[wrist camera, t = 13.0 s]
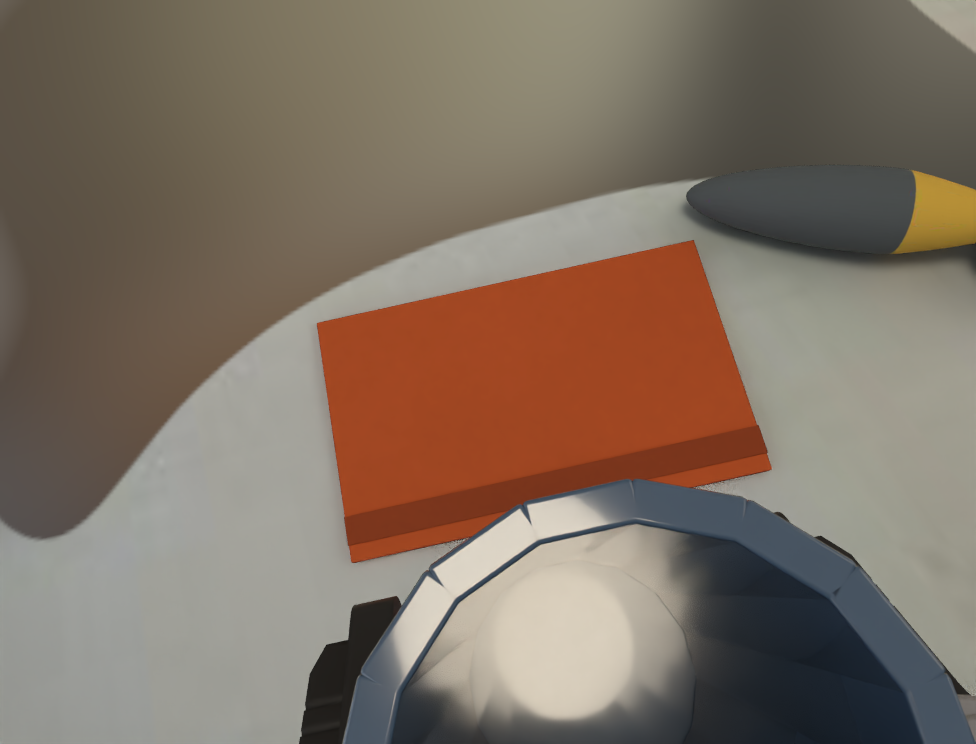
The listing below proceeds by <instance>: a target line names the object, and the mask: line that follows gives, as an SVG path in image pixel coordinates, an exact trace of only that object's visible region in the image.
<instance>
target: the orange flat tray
mask: <svg viewBox="0 0 976 744" xmlns="http://www.w3.org/2000/svg"><path fill="white" fill-rule="evenodd" d="M317 328H318V335H319V342H320V349H321V355H322V362H323V369H324V376H325V383H326V390H327V397H328V404H329V411H330V417H331V424H332V431H333V438H334V445H335V452H336V459H337V466H338V473H339V479H340V486H341V493H342V500H343V507H344V514H345V517H344V520H345V527H346V534H347V541H348V546H349V548H350V555H351V562H352V563H356V562H360V561H365V560H369V559H374V558H378V557H383V556H387V555H392V554H396V553H401V552H405V551H410V550H414V549H419V548H423V547H428V546H432V545H437V544H441V543H446V542H450V541H455V540H459V539H464V538H468V537H471V536H473V535H474V534H476V533H477V532H478V531H480V530H481V529H483V528H484V527H485V526H487V525H488V524H490V523H491V522H493V521H494V520H495V519H497V518H498V517H500V516H501V515H503V514H504V513H505V512H507V511H508V510H510V509H511V508H513V507H514V506H515V505H517V504H522V505H523V502H525V501H526V500H530V499H535V498H539V497H544V496H548V495H553V494H558V493H562V492H567V491H571V490H576V489H580V488H585V487H590V486H594V485H599V484H603V483H608V482H612V481H617V480H622V479H626V478H627V479H631V480H633V479H636V478H639V479H645V480H650V481H656V482H662V483H667V484H673V485H679V486H684V487H690V488H693V487H697V486H702V485H706V484H711V483H715V482H720V481H724V480H729V479H733V478H738V477H742V476H747V475H751V474H756V473H760V472H765V471H769V470H771V469H772V468H771V465H770V462H769V459H768V456H767V449H766V446H765V443H764V440H763V437H762V434H761V431H760V428H759V425H757V424H756V421H755V418H754V415H753V412H752V409H751V406H750V403H749V400H748V397H747V395H746V392H745V389H744V386H743V383H742V380H741V377H740V374H739V371H738V368H737V365H736V362H735V360H734V357H733V354H732V351H731V348H730V345H729V342H728V339H727V336H726V333H725V330H724V327H723V324H722V322H721V319H720V316H719V313H718V310H717V307H716V304H715V301H714V298H713V295H712V292H711V289H710V286H709V284H708V281H707V278H706V275H705V272H704V269H703V266H702V263H701V260H700V257H699V254H698V251H697V249H696V246H695V243H694V240H692V241H687V242H683V243H678V244H673V245H669V246H664V247H660V248H655V249H651V250H646V251H642V252H637V253H633V254H628V255H624V256H619V257H614V258H610V259H605V260H601V261H596V262H592V263H587V264H583V265H578V266H574V267H569V268H565V269H560V270H555V271H551V272H546V273H542V274H537V275H533V276H528V277H524V278H519V279H515V280H510V281H506V282H501V283H496V284H492V285H487V286H483V287H478V288H474V289H469V290H465V291H460V292H456V293H451V294H447V295H442V296H437V297H433V298H428V299H424V300H419V301H415V302H410V303H406V304H401V305H397V306H392V307H388V308H383V309H378V310H374V311H369V312H365V313H360V314H356V315H351V316H347V317H342V318H338V319H333V320H329V321H324V322H319V323H317Z"/></svg>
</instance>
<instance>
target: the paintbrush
mask: <svg viewBox="0 0 976 744" xmlns="http://www.w3.org/2000/svg"><path fill="white" fill-rule="evenodd" d="M686 198H687V201H688V202H689V204H690V205H691V206H692V207H693V208H695V209H696V210H697V211H699V212H700V213H702V214H704V215H706V216H707V217H709V218H711V219H714V220H716V221H718V222H721V223H723V224H726V225H729V226H732V227H735V228H738V229H741V230H744V231H748V232H751V233H755V234H759V235H763V236H767V237H771V238H775V239H779V240H783V241H789V242H794V243H799V244H804V245H809V246H815V247H822V248H828V249H835V250H843V251H852V252H861V253H874V254H899V253H908V252H918V251H926V250H934V249H942V248H949V247H956V246H962V245H968V244H974V243H976V190H974V189H971V188H969V187H966V186H963V185H959V184H957V183H954V182H951V181H948V180H944V179H941V178H938V177H935V176H931V175H928V174H925V173H921V172H918V171H913V170H909V169H902V168H892V167H880V166H879V167H878V166H861V165H810V166H789V167H777V168H766V169H757V170H750V171H742V172H737V173H731V174H726V175H722V176H718V177H715V178H711V179H708V180H706V181H703V182H701V183H699V184H697V185H695V186H694V187H692V188H691V189H690V190H689V191H688V192H687V195H686Z"/></svg>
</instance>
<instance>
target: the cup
mask: <svg viewBox="0 0 976 744" xmlns="http://www.w3.org/2000/svg"><path fill="white" fill-rule="evenodd" d="M945 671H946V670H945V668H944V666H943V665H942V664H941V663H940V661H939V660H938V659H937V658H936V657H935V655H934V654H933V653H932V652H931V651H930V649H929V648H928V647H927V646H926V645H925V643H924V642H923V641H922V640H921V639H920V637H919V636H918V635H917V634H916V633H915V631H914V630H913V629H912V628H911V627H910V625H909V624H908V623H907V622H906V621H905V619H904V618H903V617H902V616H901V615H900V613H899V612H898V611H897V610H896V609H895V607H894V606H893V605H892V604H891V603H890V601H889V600H888V599H887V598H886V597H885V595H884V594H883V593H882V592H881V591H880V589H879V588H878V587H877V586H876V585H875V583H874V582H873V581H872V580H871V579H870V577H869V576H868V575H867V574H866V573H865V571H864V570H863V569H862V568H861V567H859V566H856V564H855V563H854V561H853V560H851V559H850V558H848V557H846V556H845V555H843V554H841V553H840V552H838V551H836V550H835V549H833V548H831V547H830V546H828V545H826V544H825V543H823V542H821V541H820V540H818V539H816V538H815V537H813V536H811V535H810V534H808V533H806V532H804V531H803V530H801V529H799V528H798V527H796V526H794V525H793V524H791V523H789V522H788V521H786V520H784V519H783V518H781V517H779V516H778V515H776V514H774V513H773V512H771V511H769V510H768V509H766V508H764V507H763V506H761V505H759V504H758V503H756V502H754V501H751V500H748V501H747V500H746V499H745V498H743V497H741V496H735V495H730V494H724V493H718V492H713V491H707V490H701V489H696V488H690V487H684V486H679V485H673V484H667V483H662V482H656V481H650V480H645V479H639V478H636V479H633V480H631V479H627V478H626V479H622V480H617V481H612V482H608V483H603V484H599V485H594V486H590V487H585V488H580V489H576V490H571V491H567V492H562V493H558V494H553V495H548V496H544V497H539V498H535V499H530V500H526V501H525V502H523V505H522V504H517V505H515V506H514V507H513V508H511V509H510V510H508V511H507V512H505V513H504V514H503V515H501V516H500V517H498V518H497V519H495V520H494V521H493V522H491V523H490V524H488V525H487V526H485V527H484V528H483V529H481V530H480V531H478V532H477V533H476V534H474V535H473V536H471V537H470V538H468V539H467V540H466V541H464V542H463V543H461V544H460V545H458V546H457V547H456V548H454V549H453V550H451V551H450V552H448V553H447V554H446V555H444V556H443V557H441V558H440V559H438V560H437V561H436V562H434V563H433V564H431V566H430V567H429V571H425V572H424V573H423V574H422V576H421V577H420V579H419V580H418V582H417V583H416V585H415V586H414V588H413V589H412V591H411V592H410V594H409V596H408V597H407V599H406V600H405V602H404V603H403V605H402V606H401V608H400V609H399V611H398V612H397V614H396V616H395V617H394V619H393V620H392V622H391V623H390V625H389V626H388V628H387V629H386V631H385V632H384V634H383V635H382V637H381V639H380V640H379V642H378V643H377V645H376V646H375V648H374V649H373V651H372V652H371V654H370V655H369V657H368V659H367V660H366V662H365V663H364V665H363V666H362V669H361V674H360V675H359V676H358V678H357V681H356V685H355V689H354V694H353V698H352V703H351V707H350V712H349V716H348V721H347V725H346V729H345V734H344V738H343V743H342V744H976V742H975V740H974V737H973V735H972V732H971V729H970V727H969V724H968V722H967V719H966V716H965V714H964V711H963V709H962V706H961V703H960V701H959V698H958V696H957V693H956V690H955V688H954V685H953V683H952V680H951V678H950V677H949V675H948V674H947V673H945Z"/></svg>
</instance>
